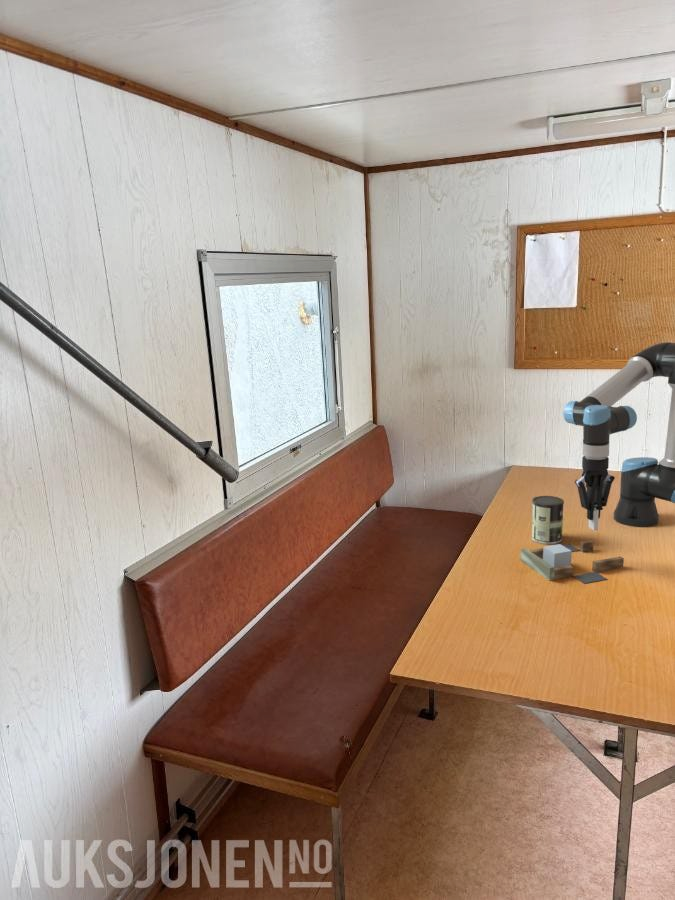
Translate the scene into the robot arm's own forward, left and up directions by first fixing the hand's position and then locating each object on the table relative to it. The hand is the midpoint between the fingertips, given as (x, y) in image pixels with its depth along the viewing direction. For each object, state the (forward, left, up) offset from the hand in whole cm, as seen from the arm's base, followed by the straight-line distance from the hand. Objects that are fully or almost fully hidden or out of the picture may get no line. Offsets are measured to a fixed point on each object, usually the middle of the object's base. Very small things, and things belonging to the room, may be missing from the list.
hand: (593, 528), depth 210 cm
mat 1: (+3, -11, -11) cm, 15 cm away
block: (+13, 0, -11) cm, 17 cm away
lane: (+8, 0, -11) cm, 13 cm away
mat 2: (+9, +11, -11) cm, 17 cm away
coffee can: (+3, -21, -11) cm, 24 cm away
